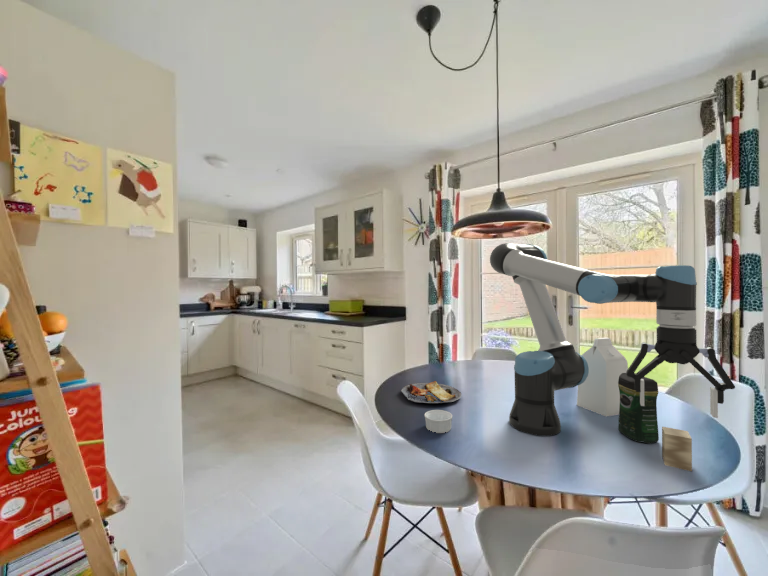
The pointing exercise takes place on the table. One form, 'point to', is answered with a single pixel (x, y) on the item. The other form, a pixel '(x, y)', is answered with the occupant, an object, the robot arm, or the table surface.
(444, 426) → the ramekin
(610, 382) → the milk
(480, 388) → the table surface
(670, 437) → the beech block
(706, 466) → the table surface
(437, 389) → the food plate
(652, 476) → the table surface
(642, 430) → the coffee jar
